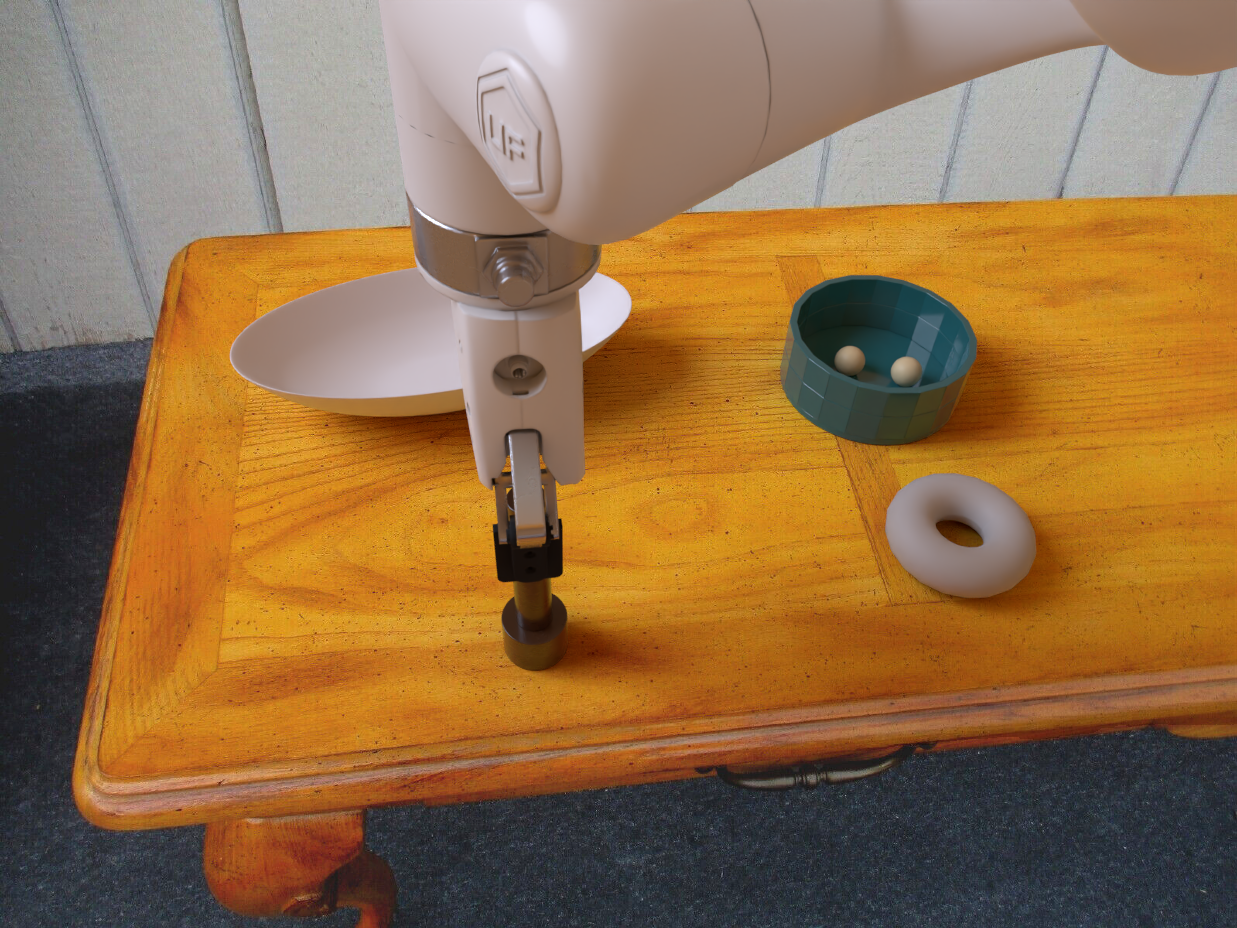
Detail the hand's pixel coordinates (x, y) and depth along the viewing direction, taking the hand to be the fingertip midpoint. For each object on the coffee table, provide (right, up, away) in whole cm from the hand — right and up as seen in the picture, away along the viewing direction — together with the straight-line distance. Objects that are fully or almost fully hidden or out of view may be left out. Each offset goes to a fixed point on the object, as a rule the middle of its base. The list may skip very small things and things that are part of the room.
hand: (522, 500), depth 50 cm
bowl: (-9, +8, +26) cm, 29 cm away
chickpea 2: (+28, +9, +26) cm, 39 cm away
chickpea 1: (+24, +10, +26) cm, 37 cm away
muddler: (0, -9, +10) cm, 14 cm away
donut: (+28, -4, +16) cm, 33 cm away
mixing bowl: (+25, +9, +27) cm, 38 cm away
